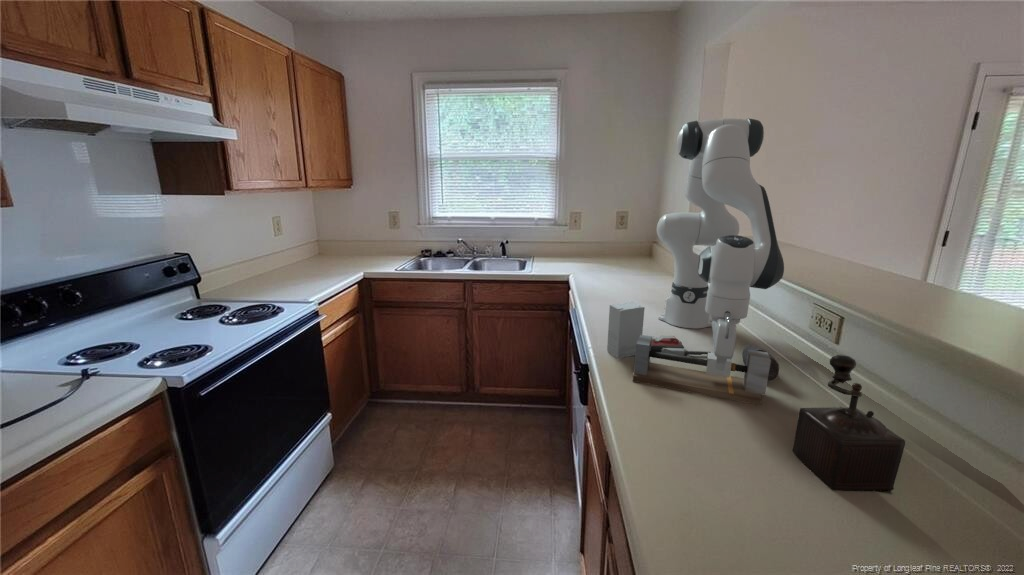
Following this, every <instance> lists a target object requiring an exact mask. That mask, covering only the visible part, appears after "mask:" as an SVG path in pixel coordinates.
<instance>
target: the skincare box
mask: <svg viewBox="0 0 1024 575" xmlns="http://www.w3.org/2000/svg"><path fill="white" fill-rule="evenodd" d="M645 309H646V308H645V306H643V305H641V304H638V303H636V302H635V301H627V302H621V303H615V304H614V303H613V304H609V309H608V310H609V312H608V327H607V328H608V329H607V345H606V346H607V348H606V350H607V352H608V353H610V354H611V355H613V357H615V358H616V359H622V358H627V357H632V356H636V345H637V341H638V339H639V336H640V335H643V333H644V332H643V331H644V316H645Z"/></svg>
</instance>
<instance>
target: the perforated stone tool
mask: <svg viewBox="0 0 1024 575" xmlns="http://www.w3.org/2000/svg"><path fill="white" fill-rule="evenodd" d="M748 350H753V351H760V352H767V353H768V355H769V357H770V360H771V363H770V369H769V374H768V380H767V382H768V381H769V382H771V381H774V380H777V378H778V377H779V373H780V364H779V362H778V361H777V359H776V358H775V357H774V356H773V355H772V354H771V352H768V351H767V350H765V349H764V348H762V347H760V346H757V345H754V344H748V345H746V346H744V348H743V349H742V353H741V357H742V359H741V360H742V362H743V364H744V366H746V361H747V354H748Z"/></svg>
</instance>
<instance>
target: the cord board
mask: <svg viewBox="0 0 1024 575" xmlns="http://www.w3.org/2000/svg"><path fill="white" fill-rule="evenodd" d="M652 336H653V335H652ZM652 336H651V335H644V334H642V335H640V336H639V339H638V341H637V345H636V355H634V356H635V358H634V370H633V372H634V373H633V375H632V382H636V383H640V382H641V384H645V385H646V384H647V385H651V386H656V385H657V386H658V387H662V388H666V389H667V388H668V389H671V390H677V391H678V390H679V391H683V392H688V391H689V392H688V393H694V394H699V395H704V394H705V395H704V396H711V397H716V398H721V399H726V400H732V401H735V402H737V401H738V402H743V403H747V404H754V405H757V406H758V405H759V406H760V405H761V404H762V403H761V402H762V397H761V395H764V396H765V395H766V390H767V386H768V374H769V369H770V363H771V360H770V357H769V355H768V353H767V352H768V351H767V352H760V351H753V350H748V354H747V361H746V366H745V364H744V365H743V364H736V363H734V362H732V364H731V371H730V372H740V373H744V374H743V377H738V376H732V375H730V378H728V377H722V376H716V375H710V374H706V371H704V370H703V371H702V370H697V369H691V368H685V367H679V366H674V365H667V364H660V363H655V362H651V361H650V359H651V358H654V359H660V360H665V361H672V362H678V363H685V364H690V365H697V366H705V367H706V366H707V362H708V360H707V358H706V359H705V358H699V357H692V356H688V355H684V356H681V355H674V354H668V353H662V352H655V351H651V342H652Z"/></svg>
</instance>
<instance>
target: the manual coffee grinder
mask: <svg viewBox="0 0 1024 575" xmlns="http://www.w3.org/2000/svg"><path fill="white" fill-rule="evenodd" d="M829 365H830V366H831V367H832V368H833V371H834V374H833V375H832V380H829V381H828V382H827V387H828V388H830V389H831V390H834V391H836V392H838V393H840V394H843V395H845V396H851V397H850V401H849V405H848V407H800V409H799V412H798V418H797V421H796V422H797V423H796V428H795V436H794V442H793V448H792V452H793V454H794V455H795V457H796V458H797V459H798V460H799V461H800V462H801V463H802V464H803V465H804V466H805V467H806V468H807V469H809V471H810V470H811V471H810V472H811V473H812V474H813V473H814V476H815V477H817V478H818V479H819V480H820V481H821V482H823V483H824V484H825V485H826V486H827V487H828V488H829V489H830V490H831V491H841V492H891V491H893V490H894V489H895V488H894V486H895V482H896V479H897V475H898V472H899V468H900V465H901V462H902V457H903V453H904V449H905V447H906V440H905V439H903V438H902V437H901V436H900V435H898V434H896V433H895V432H893V431H892V430H890V429H889V428H887V426H886V424H885V425H884V423H882V422H881V421H880V420H878V419H877V418H876V417H874V415H875V413H874V412H873V411H872V410H869V411H867V412H866V413H864V412H863V411H862V410H860V409H858V408H857V407H858V401H859V398H860V397H862V392H861V391H862V390H863V386H862V384H861V383H858V382H854V383H852V384H851V387H852V389H851V390H848V389H845V388H842V386H841V387H840V386H838V384H840V383H841V384H844V383H846V382H851V381H852V379H853V378H852V377H851V373H852V372H853V370H854V369H855V368H856V367H857V362H856V359H855V358H853V357H851V356H850V355H844V354H837V355H834V356H831V358H830V359H829Z"/></svg>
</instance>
